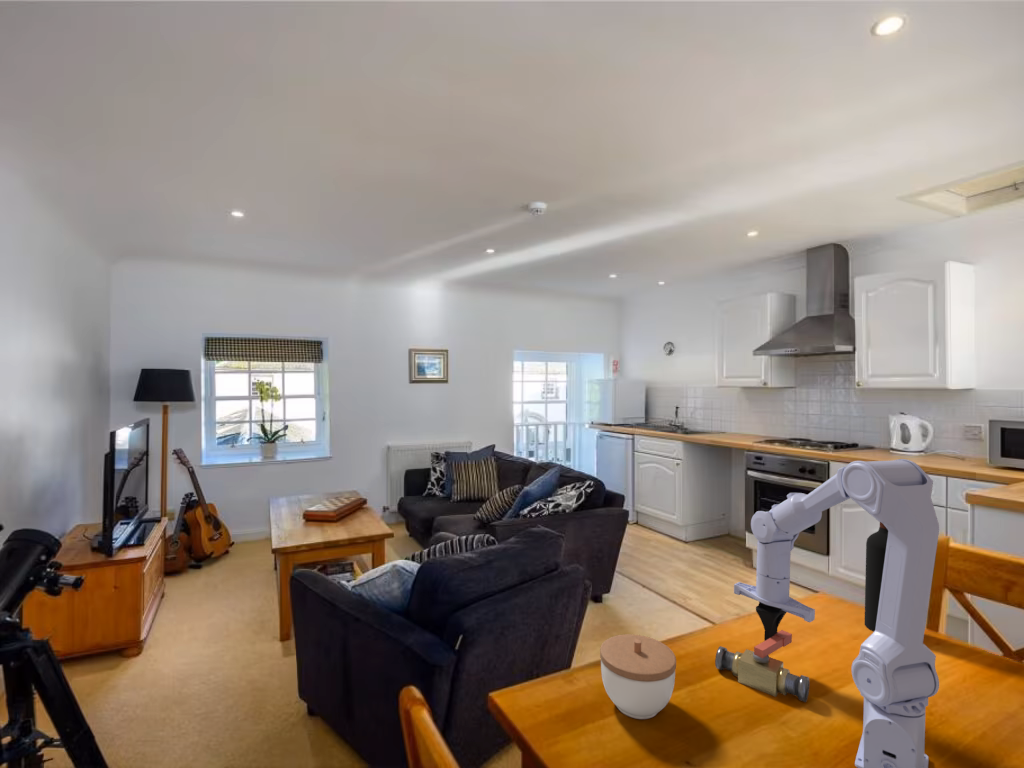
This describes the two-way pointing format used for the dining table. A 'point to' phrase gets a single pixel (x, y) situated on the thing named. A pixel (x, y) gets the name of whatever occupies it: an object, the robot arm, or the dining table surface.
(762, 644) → the lever
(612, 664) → the lidded bowl
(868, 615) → the wine bottle
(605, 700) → the dining table surface
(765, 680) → the pipe valve
